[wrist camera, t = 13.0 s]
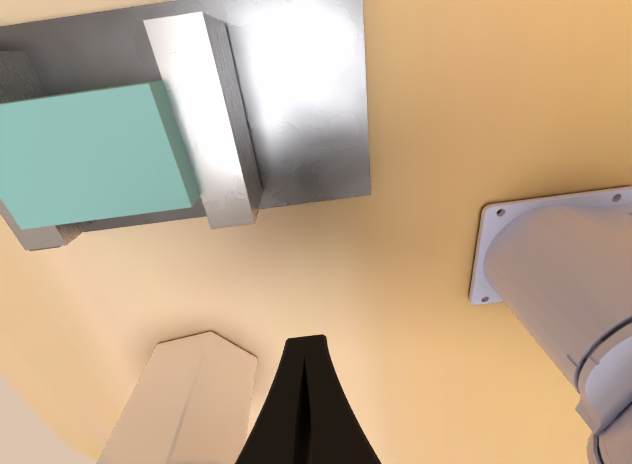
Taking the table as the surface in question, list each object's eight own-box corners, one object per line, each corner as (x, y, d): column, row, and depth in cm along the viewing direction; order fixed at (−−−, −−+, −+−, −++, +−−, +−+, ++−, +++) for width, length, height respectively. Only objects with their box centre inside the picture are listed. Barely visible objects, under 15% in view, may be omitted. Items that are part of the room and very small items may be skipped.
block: (194, 75, 15) (148, 83, 10) (220, 168, 17) (192, 207, 13) (48, 95, 15) (-57, 112, 11) (92, 185, 17) (21, 229, 13)
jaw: (224, 21, 14) (202, 11, 10) (262, 194, 17) (254, 223, 14) (178, 28, 14) (142, 20, 11) (227, 198, 17) (211, 229, 14)
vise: (357, -22, 14) (379, -53, 10) (367, 188, 19) (384, 223, 15) (-34, 36, 14) (-158, 28, 11) (75, 226, 19) (17, 270, 15)
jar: (155, 321, 23) (36, 536, 13) (264, 337, 25) (236, 545, 14) (153, 395, 28) (62, 603, 17) (247, 405, 29) (215, 606, 18)
